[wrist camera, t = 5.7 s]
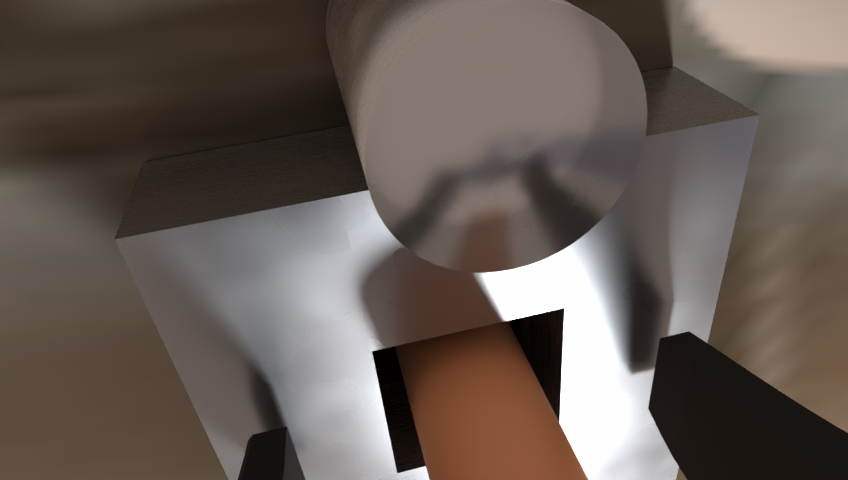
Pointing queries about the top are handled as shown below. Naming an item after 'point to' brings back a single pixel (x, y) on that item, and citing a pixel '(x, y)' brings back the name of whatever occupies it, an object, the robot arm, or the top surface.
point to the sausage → (483, 409)
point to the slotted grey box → (447, 234)
